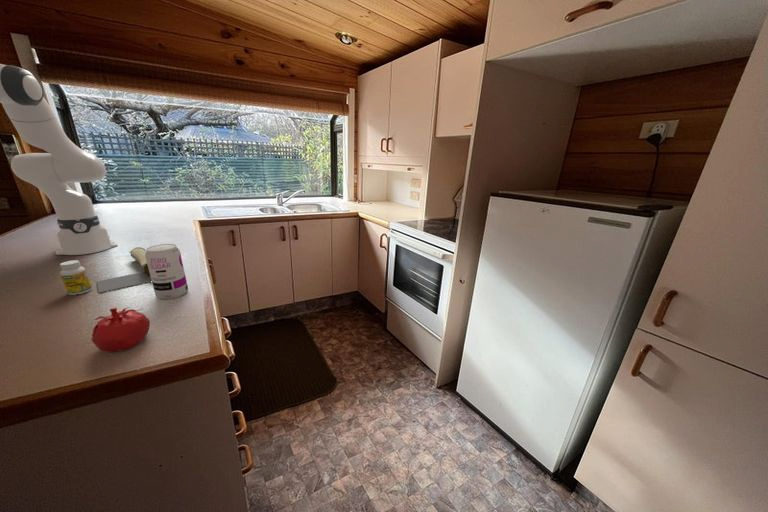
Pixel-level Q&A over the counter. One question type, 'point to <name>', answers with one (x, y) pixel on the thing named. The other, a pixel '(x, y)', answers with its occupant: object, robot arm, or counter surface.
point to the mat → (123, 282)
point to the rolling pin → (140, 258)
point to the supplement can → (166, 271)
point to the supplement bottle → (75, 278)
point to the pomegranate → (120, 330)
